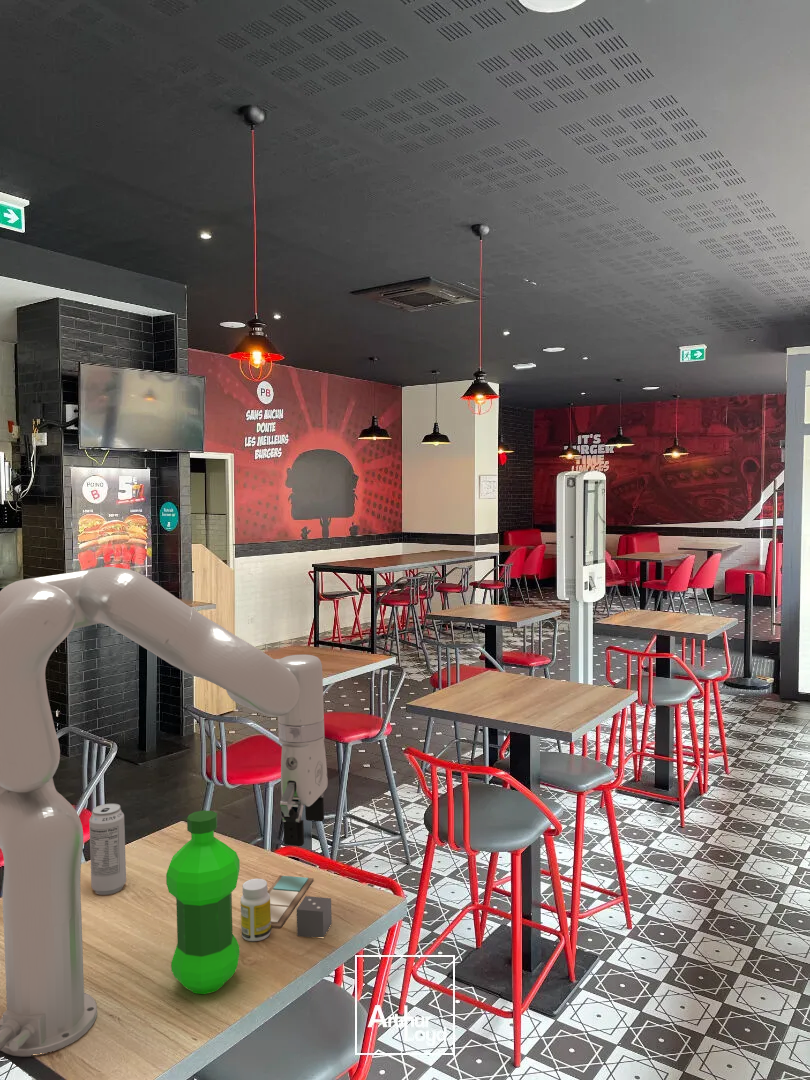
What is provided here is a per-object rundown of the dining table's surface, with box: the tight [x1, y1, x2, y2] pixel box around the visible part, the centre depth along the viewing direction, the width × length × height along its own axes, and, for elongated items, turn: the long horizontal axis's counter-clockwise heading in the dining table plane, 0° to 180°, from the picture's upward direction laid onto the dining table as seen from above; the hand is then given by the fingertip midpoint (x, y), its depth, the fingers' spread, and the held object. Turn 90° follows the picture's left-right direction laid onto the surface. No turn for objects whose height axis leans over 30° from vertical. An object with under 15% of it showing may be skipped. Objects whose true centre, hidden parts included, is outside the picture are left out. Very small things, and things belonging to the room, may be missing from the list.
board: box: [267, 875, 315, 929], centre depth 141 cm, size 17×7×1 cm, turn 168°
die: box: [296, 895, 333, 938], centre depth 131 cm, size 4×4×5 cm
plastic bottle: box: [165, 809, 241, 995], centre depth 117 cm, size 10×10×25 cm
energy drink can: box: [88, 803, 127, 896], centre depth 147 cm, size 6×6×15 cm
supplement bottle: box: [240, 878, 272, 942], centre depth 130 cm, size 5×5×8 cm
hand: (304, 832), depth 132 cm, fingers open, 9 cm apart
